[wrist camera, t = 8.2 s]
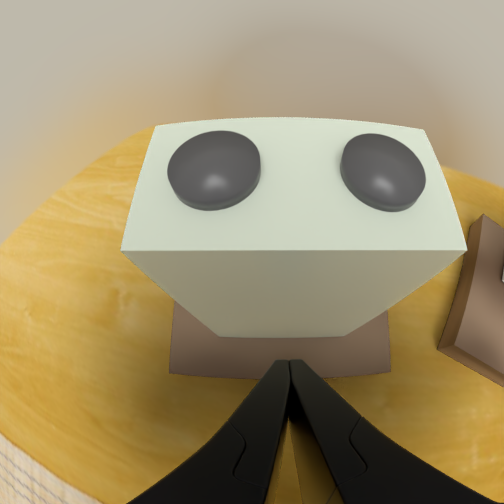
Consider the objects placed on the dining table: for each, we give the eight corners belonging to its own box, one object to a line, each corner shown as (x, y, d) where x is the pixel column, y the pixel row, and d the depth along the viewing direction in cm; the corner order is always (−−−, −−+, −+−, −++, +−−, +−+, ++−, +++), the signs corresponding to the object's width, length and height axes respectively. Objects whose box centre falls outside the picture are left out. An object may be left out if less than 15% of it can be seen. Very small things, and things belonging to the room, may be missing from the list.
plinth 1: (377, 373, 14) (390, 372, 12) (180, 373, 15) (168, 373, 13) (362, 216, 18) (370, 199, 16) (195, 216, 19) (188, 199, 17)
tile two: (344, 336, 13) (476, 242, 4) (219, 336, 14) (112, 243, 4) (340, 277, 14) (427, 120, 5) (222, 278, 15) (152, 116, 5)
